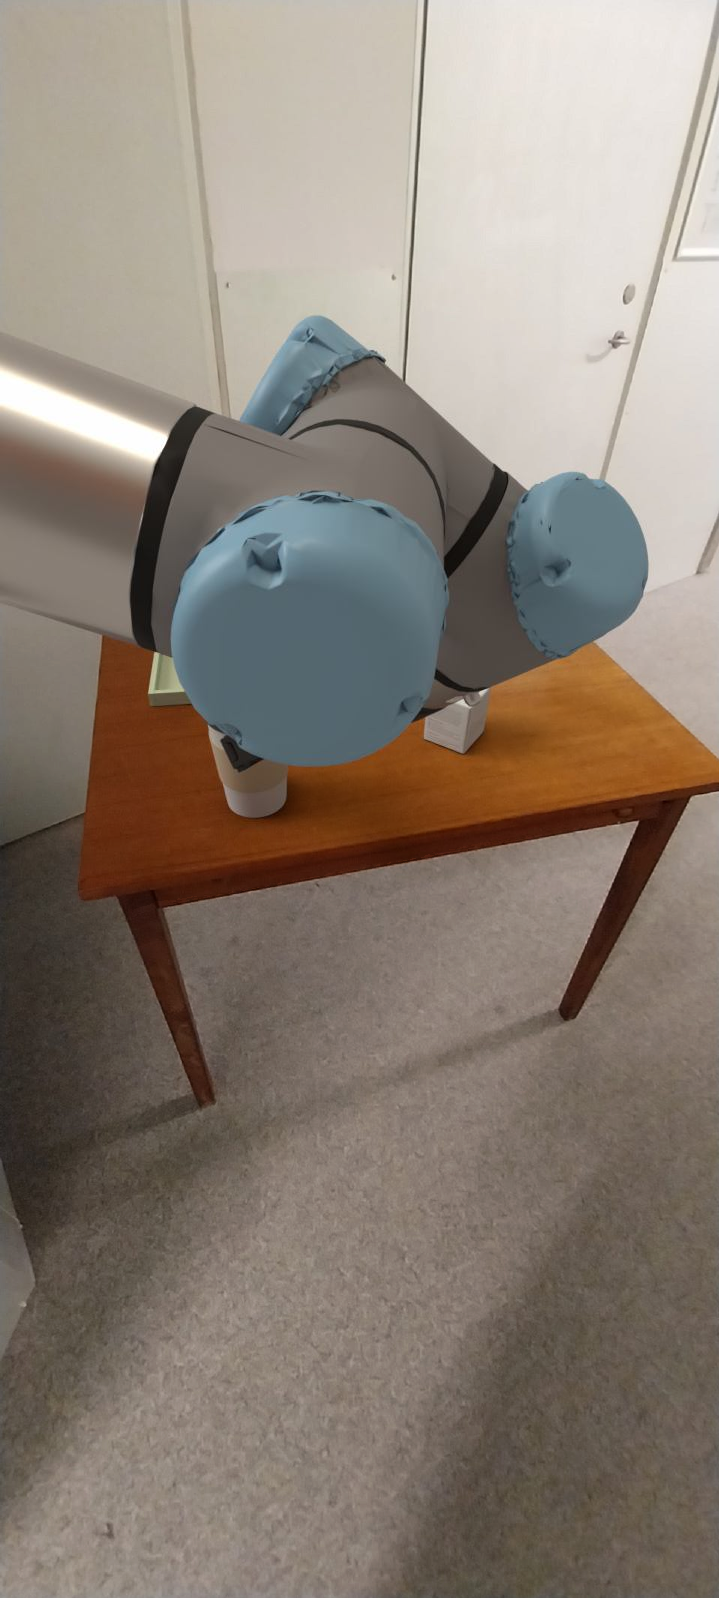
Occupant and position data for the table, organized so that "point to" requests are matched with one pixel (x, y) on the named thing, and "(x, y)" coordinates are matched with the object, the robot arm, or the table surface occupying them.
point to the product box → (458, 724)
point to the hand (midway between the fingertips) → (299, 729)
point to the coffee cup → (250, 782)
